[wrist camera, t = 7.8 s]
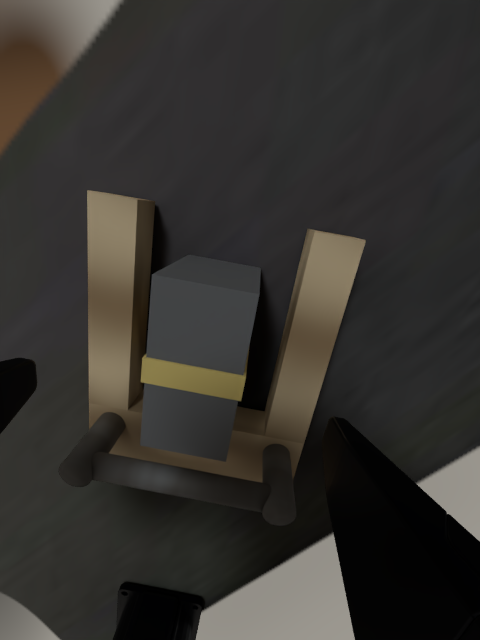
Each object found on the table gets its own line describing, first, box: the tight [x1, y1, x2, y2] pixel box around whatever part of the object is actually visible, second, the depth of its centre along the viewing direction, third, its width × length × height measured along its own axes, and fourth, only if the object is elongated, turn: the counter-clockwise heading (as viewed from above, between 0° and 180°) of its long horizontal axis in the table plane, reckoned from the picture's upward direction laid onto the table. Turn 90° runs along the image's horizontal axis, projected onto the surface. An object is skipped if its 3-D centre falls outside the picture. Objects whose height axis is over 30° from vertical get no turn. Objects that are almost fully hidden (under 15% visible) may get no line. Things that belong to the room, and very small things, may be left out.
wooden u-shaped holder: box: [59, 190, 366, 526], centre depth 13 cm, size 14×11×5 cm
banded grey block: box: [140, 255, 261, 462], centre depth 13 cm, size 4×7×5 cm, turn 170°
